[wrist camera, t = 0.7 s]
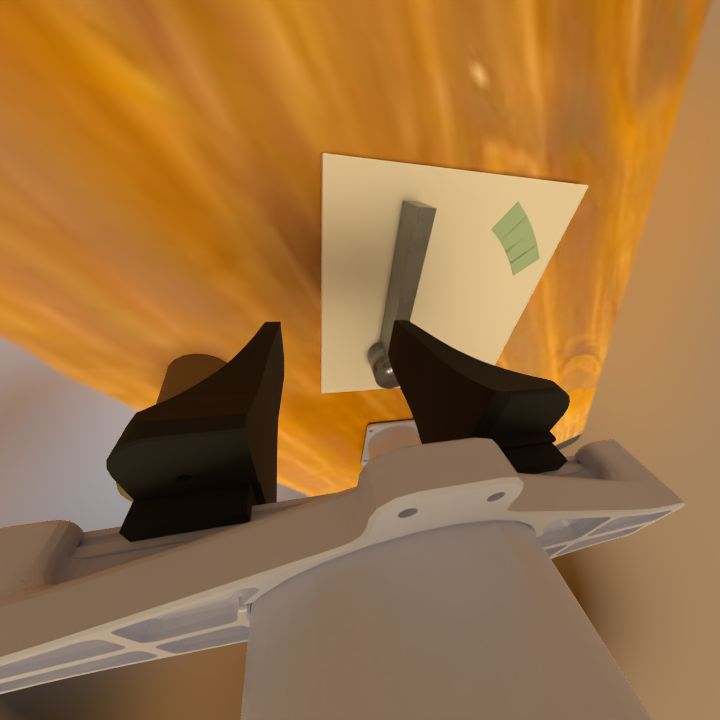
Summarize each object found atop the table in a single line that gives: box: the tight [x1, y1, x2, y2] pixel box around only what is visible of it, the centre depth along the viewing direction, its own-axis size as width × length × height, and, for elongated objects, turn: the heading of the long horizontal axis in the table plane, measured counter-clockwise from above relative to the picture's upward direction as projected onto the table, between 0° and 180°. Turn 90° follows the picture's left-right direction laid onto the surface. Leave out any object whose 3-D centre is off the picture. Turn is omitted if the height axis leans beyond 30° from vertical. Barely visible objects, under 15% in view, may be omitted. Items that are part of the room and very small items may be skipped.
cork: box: [116, 354, 227, 502], centre depth 20 cm, size 6×6×11 cm
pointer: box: [367, 200, 437, 389], centre depth 21 cm, size 15×3×3 cm, turn 174°
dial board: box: [321, 153, 589, 393], centre depth 24 cm, size 20×20×1 cm
